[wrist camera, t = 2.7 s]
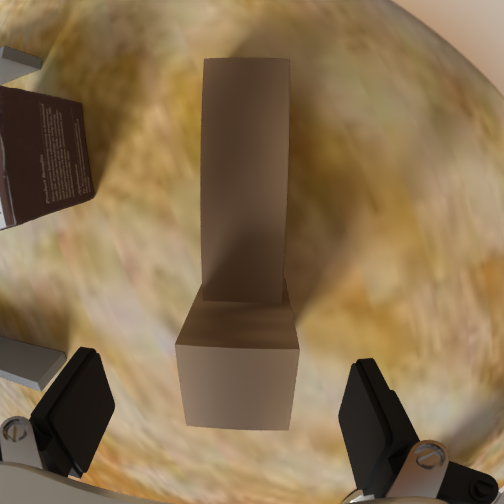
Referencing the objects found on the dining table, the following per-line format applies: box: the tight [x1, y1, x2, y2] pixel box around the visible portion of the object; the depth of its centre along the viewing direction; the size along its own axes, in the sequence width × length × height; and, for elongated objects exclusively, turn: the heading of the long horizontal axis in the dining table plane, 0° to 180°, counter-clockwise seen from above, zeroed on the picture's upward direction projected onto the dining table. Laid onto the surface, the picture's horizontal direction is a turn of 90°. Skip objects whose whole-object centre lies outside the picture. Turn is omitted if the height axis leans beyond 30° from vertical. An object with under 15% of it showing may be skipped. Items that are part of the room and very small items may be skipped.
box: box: [0, 85, 94, 231], centre depth 12 cm, size 6×6×7 cm
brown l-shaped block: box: [175, 58, 300, 430], centre depth 13 cm, size 4×15×7 cm, turn 179°
